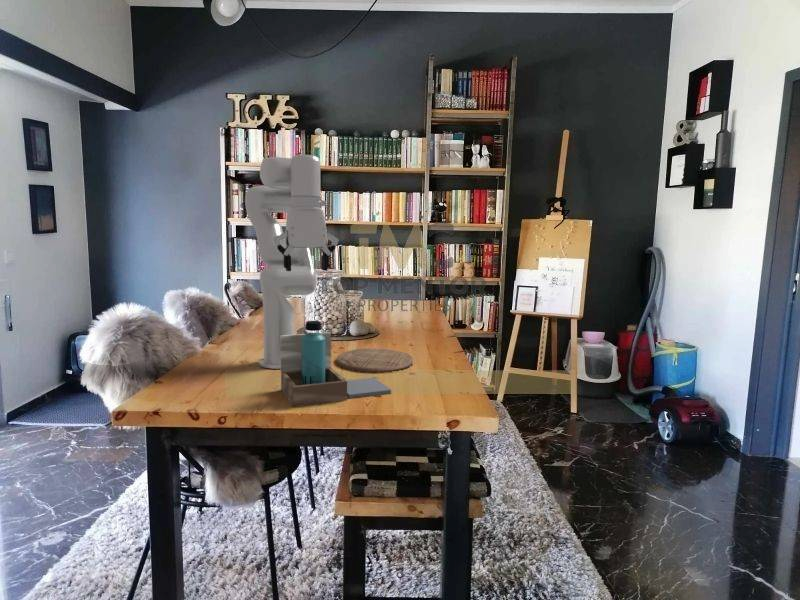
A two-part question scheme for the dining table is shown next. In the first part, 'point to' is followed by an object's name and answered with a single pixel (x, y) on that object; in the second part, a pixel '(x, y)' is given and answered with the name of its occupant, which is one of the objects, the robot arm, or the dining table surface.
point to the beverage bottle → (313, 355)
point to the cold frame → (293, 377)
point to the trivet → (374, 360)
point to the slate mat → (366, 388)
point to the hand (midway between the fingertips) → (306, 270)
